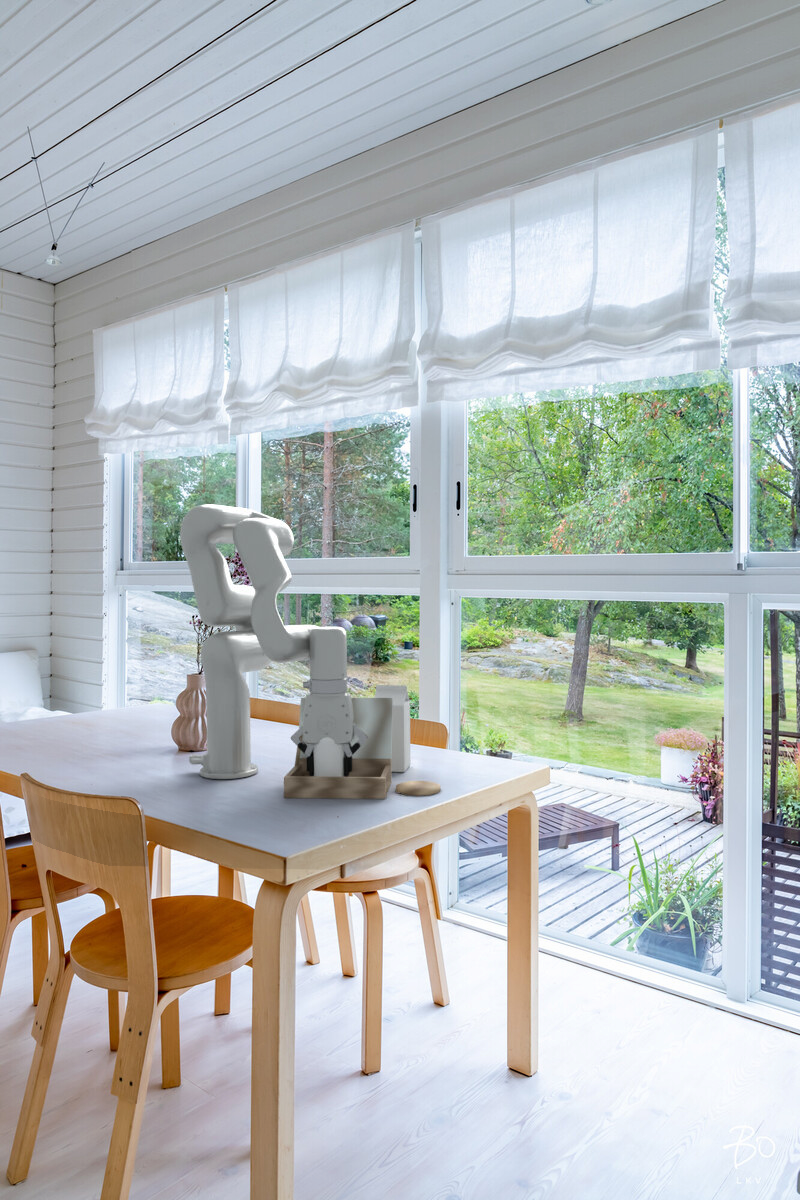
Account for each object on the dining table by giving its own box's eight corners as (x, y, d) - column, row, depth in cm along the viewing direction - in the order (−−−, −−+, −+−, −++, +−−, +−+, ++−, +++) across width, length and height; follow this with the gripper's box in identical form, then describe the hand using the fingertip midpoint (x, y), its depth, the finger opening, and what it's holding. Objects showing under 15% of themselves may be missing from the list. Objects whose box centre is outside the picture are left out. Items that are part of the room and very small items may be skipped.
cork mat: (394, 795, 157) (394, 791, 157) (397, 784, 166) (397, 780, 166) (439, 796, 157) (439, 792, 157) (441, 784, 166) (441, 781, 166)
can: (344, 793, 159) (343, 733, 159) (312, 794, 159) (311, 734, 159) (347, 785, 166) (346, 728, 166) (315, 786, 166) (315, 728, 166)
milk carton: (404, 772, 177) (403, 687, 177) (373, 771, 178) (372, 686, 178) (410, 765, 184) (409, 683, 184) (380, 764, 185) (379, 683, 185)
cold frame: (284, 797, 157) (282, 709, 156) (302, 776, 174) (301, 697, 174) (385, 798, 155) (384, 709, 155) (393, 777, 173) (392, 697, 172)
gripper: (282, 689, 159) (283, 779, 159) (368, 689, 158) (369, 780, 158) (290, 685, 167) (291, 770, 167) (373, 685, 165) (374, 771, 165)
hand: (329, 774), depth 162 cm, fingers closed on can, 6 cm apart
